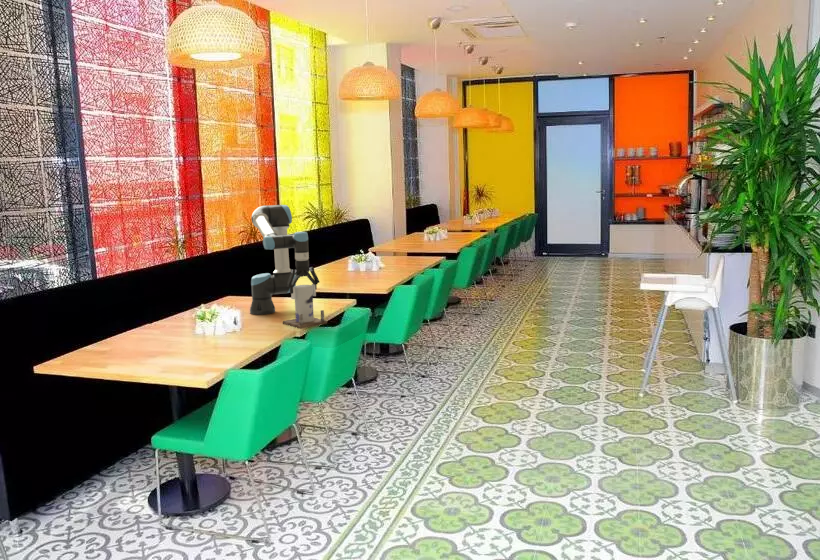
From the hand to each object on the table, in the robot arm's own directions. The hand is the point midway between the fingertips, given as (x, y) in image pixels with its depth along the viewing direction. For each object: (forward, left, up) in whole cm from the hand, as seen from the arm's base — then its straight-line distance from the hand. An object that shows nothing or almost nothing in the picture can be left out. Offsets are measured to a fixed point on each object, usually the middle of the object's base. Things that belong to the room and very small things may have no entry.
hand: (303, 297), depth 410 cm
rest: (0, 0, -15) cm, 15 cm away
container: (0, 0, -14) cm, 14 cm away
